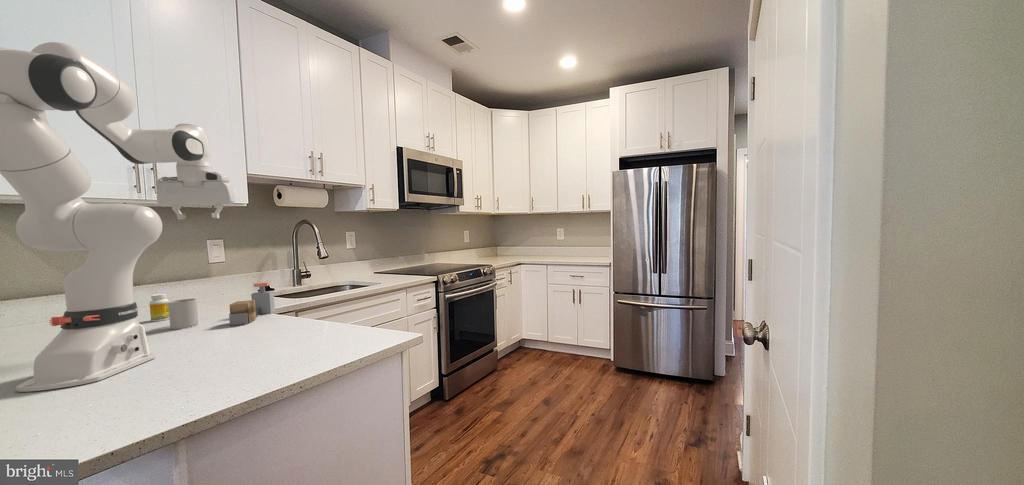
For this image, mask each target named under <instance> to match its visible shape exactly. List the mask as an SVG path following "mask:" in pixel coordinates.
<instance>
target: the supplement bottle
mask: <svg viewBox="0 0 1024 485" xmlns="http://www.w3.org/2000/svg"><path fill="white" fill-rule="evenodd" d="M150 296H151V298H150V299H151V301H149V312H150V321H151V322H155V323H157V322H163V321H167V320H170V318H169V307H168V302H170V300H169V299H168V298H167V293H156V294H152V295H150Z"/></svg>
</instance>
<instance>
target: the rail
mask: <svg viewBox="0 0 1024 485" xmlns="http://www.w3.org/2000/svg"><path fill="white" fill-rule="evenodd" d="M255 309H256V318H258V317H259V316H258V315H260V314H261V308H255ZM261 315H262V314H261ZM261 315H260V316H261ZM228 316H229V326H230V327H233V326H232V325H237V326H243V325H242V324H247V325H248V324H249V323H248V315H247V312H244V313H233V314H230V313H228ZM257 316H258V317H257Z"/></svg>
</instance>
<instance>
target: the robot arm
mask: <svg viewBox="0 0 1024 485" xmlns="http://www.w3.org/2000/svg"><path fill="white" fill-rule="evenodd" d="M136 103H137V100H136V95H135V93H134V92H133V90H132V88H131V87H130V86H129V85H128V84H127V83H126V82H125V81H124V80H123V79H121V78H120V77H119V76H118V75H116V74H115V73H114V72H113V71H111V70H110V69H109V68H107V66H105V65H104V64H102V63H100V62H99V61H98V60H96V59H95V58H93V57H92V56H90V55H88V54H86V53H84V51H81V50H79V49H78V48H76V47H74V46H72V45H70V44H67V43H63V42H57V41H55V42H54V41H49V42H44V43H41V44H39V45H36V46H35V47H33V49H32V50H30V51H26V50H18V49H15V48H10V47H0V175H1V176H2V177H3V178H4V180H6V182H8V184H9V185H10V186H11V188H13V189H14V190H15V191H16V193H17V194H18V195H19V196H20V198H21V199H22V202H23V204H24V208H25V209H24V211H23V213H22V214H20V216H19V217H18V219H17V221H16V224H15V231H16V234H17V237H18V238H19V240H21V242H22V243H23V244H25V245H26V246H28V247H30V248H32V249H36V250H42V251H52V252H53V251H54V252H77V251H79V252H81V251H88V256H87V259H86V261H85V262H84V263H83V265H82V266H80V267H78V268H76V269H74V270H73V271H71V272H69V273H68V274H67V275H66V276H65V278H64V280H63V286H64V298H65V299H64V300H65V306H66V310H65V311H64V313H63V316H52V317H50V319H49V325H50V326H51V327H57V326H60V329H61V330H60V331H59V333H57V335H56V336H55V337H54V338H53V339H52V340H51V341H50V342H49V343H48V344H47V345H46V346H45V348H43V349H42V350H41V351H40V352H39V354H37V356H36V357H35V359H34V361H33V377H32V378H30V379H28V380H25V381H24V382H22V383H20V384H17V386H15V392H20V393H23V392H24V393H25V392H40V391H47V390H55V389H56V390H57V389H62V388H69V387H70V388H71V387H75V386H79V385H86V384H90V383H94V382H98V381H102V380H104V379H106V378H109V377H112V376H114V375H117V374H119V373H122V372H123V371H126V370H129V369H131V368H134V367H136V366H139V365H142V364H144V363H146V362H149V361H151V360H153V359H156V354H155V353H153V352H150V348H149V344H148V339H147V334H146V329H145V327H144V326H143V325H142V324H141V323H140V322H139V321H138V319H137V317H138V316H139V311H138V310H139V308H138V305H137V302H135V298H134V297H135V296H134V272H135V271H134V270H135V267H136V264H137V262H138V260H139V258H140V256H142V254H143V252H144V251H145V250H146V249H147V248H148V247H149V246H151V245H152V244H153V243H155V242H157V240H158V239H159V238H160V236H161V235H162V231H163V222H162V218H161V217H160V215H159V214H158V213H157V212H156V211H155V210H154V209H153V208H151V207H148V206H146V205H145V206H144V205H140V204H139V205H137V204H132V203H131V204H130V203H124V202H123V203H96V204H95V203H88V202H86V201H84V200H83V198H82V197H81V196H83V195H84V194H86V193H87V192H88V190H90V188H91V185H92V176H91V174H90V172H88V169H86V168H85V166H84V165H83V163H82V162H81V161H80V160H79V158H78V157H77V155H75V153H74V152H73V151H72V149H71V148H70V146H69V145H68V144H67V143H66V142H65V140H63V138H62V137H61V136H60V135H59V134H58V133H57V132H56V130H55V129H53V128H52V126H51V125H50V124H49V122H48V119H47V114H46V111H61V112H74V111H75V113H76V115H77V116H78V117H79V118H80V119H81V120H82V121H83V122H84V123H85V124H86V125H87V126H89V127H90V128H91V129H92V130H93V131H95V132H96V133H97V134H99V135H100V136H101V137H102V138H103V139H104V140H106V141H107V142H108V143H110V144H111V145H112V146H113V147H114V148H115V149H116V150H117V151H118V153H120V155H121V156H122V157H123V158H124V159H126V160H128V161H129V162H130V163H132V164H136V165H145V164H147V165H148V164H155V163H156V164H158V163H160V164H161V163H176V164H175V169H176V176H161V177H159V178H158V179H157V180H156V188H157V191H156V201H157V204H158V205H159V206H162V207H163V206H165V207H167V206H168V207H169V206H170V207H171V209H172V211H173V212H174V213H175V214H176V218H177V220H178V221H179V220H186V219H187V218H186V213H182V212H181V210H180V209H181V208H182V207H181V206H205V205H206V206H207V205H208V206H209V205H210V206H212V205H214V208H216V209H215V211H214V212H211V218H212V219H220V213H221V212H222V210H223V209H224V207H223V205H233V204H234V203H235V201H236V197H235V192H234V188H233V186H232V184H230V181H231V180H230V177H229V176H228V175H224V174H221V173H219V172H217V171H213V170H212V165H211V163H210V162H211V161H210V158H211V151H210V150H211V149H210V142H209V139H208V136H207V133H206V131H205V129H203V128H202V127H201V126H198V125H197V124H196V125H195V124H190V123H178V124H176V125H175V127H174V128H168V129H138V128H131V127H128V126H127V125H125V124H124V122H122V121H124V120H126V119H128V117H129V116H130V115H131V114H132V113H133V112H134V111H135V108H136V106H137V105H136Z"/></svg>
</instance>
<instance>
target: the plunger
mask: <svg viewBox="0 0 1024 485" xmlns="http://www.w3.org/2000/svg"><path fill="white" fill-rule="evenodd" d="M270 285H271V281H260V282H255V283H253V287H254V288H258V287H259V292H260V293H265V291H266V287H268V286H270Z"/></svg>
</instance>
